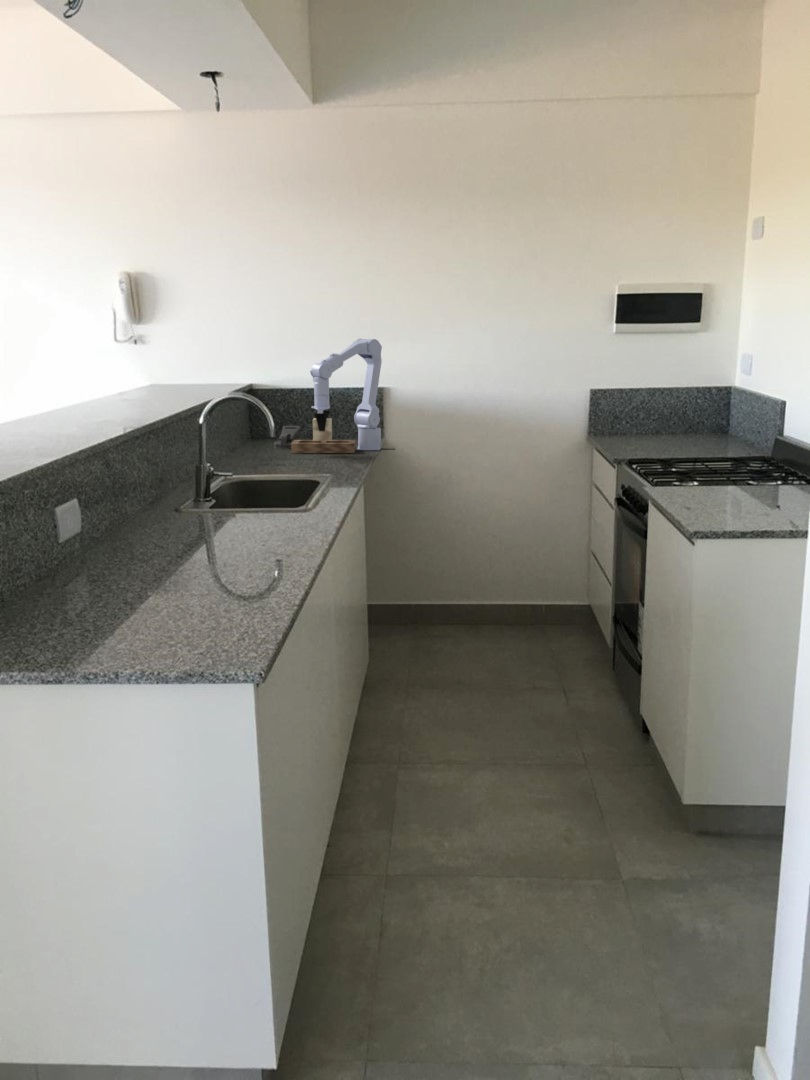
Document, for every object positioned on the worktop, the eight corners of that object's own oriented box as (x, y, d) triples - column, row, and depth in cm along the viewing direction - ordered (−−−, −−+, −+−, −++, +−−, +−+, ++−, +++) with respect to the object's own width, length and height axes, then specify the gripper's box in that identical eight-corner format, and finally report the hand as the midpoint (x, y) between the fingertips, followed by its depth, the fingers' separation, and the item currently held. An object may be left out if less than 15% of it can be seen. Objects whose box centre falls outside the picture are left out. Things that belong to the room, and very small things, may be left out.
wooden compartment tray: (355, 449, 371) (355, 440, 370) (354, 453, 361) (353, 443, 360) (294, 449, 371) (294, 439, 370) (291, 453, 362) (290, 443, 361)
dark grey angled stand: (302, 425, 396) (293, 433, 372) (303, 440, 398) (294, 449, 374) (282, 425, 397) (272, 433, 372) (282, 440, 398) (272, 449, 374)
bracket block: (332, 438, 358) (331, 418, 356) (331, 440, 354) (330, 419, 352) (314, 438, 358) (313, 418, 356) (313, 440, 354) (312, 419, 352)
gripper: (313, 393, 359) (314, 427, 362) (309, 396, 344) (310, 432, 348) (331, 393, 358) (332, 427, 362) (327, 396, 344) (328, 432, 348)
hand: (322, 430), depth 355 cm, fingers closed on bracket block, 4 cm apart
